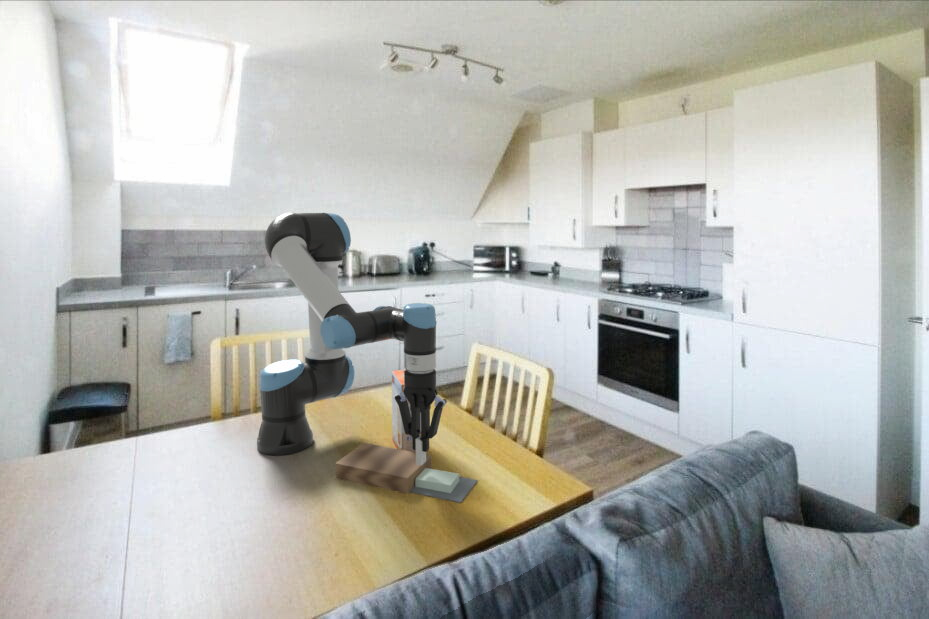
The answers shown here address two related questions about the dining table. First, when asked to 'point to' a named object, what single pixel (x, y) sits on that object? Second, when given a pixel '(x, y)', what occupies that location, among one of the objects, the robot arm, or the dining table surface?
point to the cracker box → (398, 431)
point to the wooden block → (381, 467)
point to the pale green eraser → (437, 480)
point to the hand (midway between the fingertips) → (421, 462)
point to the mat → (455, 495)
